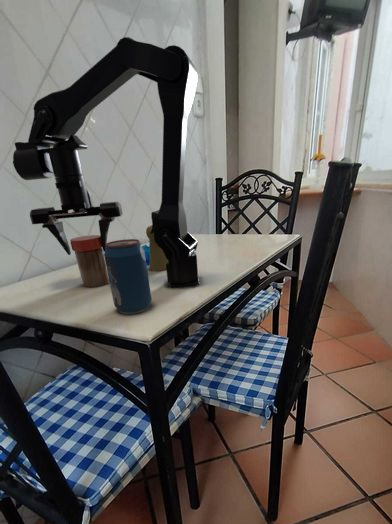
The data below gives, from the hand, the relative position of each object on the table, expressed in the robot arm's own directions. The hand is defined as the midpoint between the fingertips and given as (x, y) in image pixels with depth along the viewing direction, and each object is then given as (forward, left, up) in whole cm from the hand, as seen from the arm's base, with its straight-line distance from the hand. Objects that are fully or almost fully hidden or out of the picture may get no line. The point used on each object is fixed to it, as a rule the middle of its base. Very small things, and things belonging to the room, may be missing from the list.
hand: (87, 252), depth 73 cm
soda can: (-12, +20, -8) cm, 24 cm away
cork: (-16, -10, -8) cm, 20 cm away
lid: (0, 0, +3) cm, 3 cm away
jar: (-1, 0, -7) cm, 7 cm away
